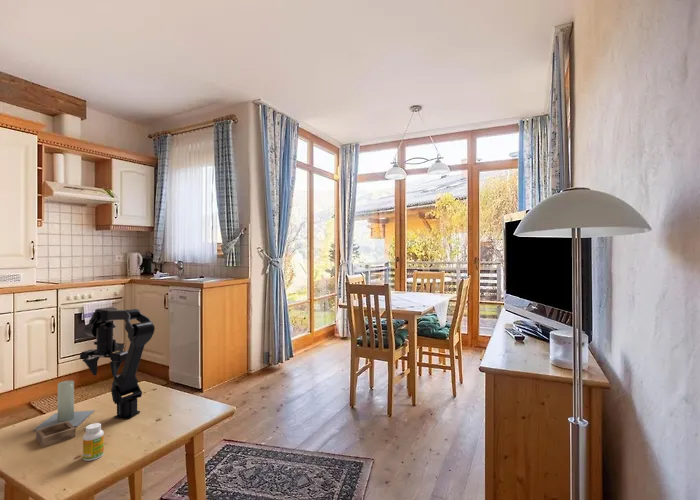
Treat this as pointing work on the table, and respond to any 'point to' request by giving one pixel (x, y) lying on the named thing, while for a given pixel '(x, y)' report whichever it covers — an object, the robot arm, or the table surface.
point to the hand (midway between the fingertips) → (104, 375)
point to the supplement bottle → (93, 442)
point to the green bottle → (65, 401)
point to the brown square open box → (55, 433)
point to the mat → (75, 422)
